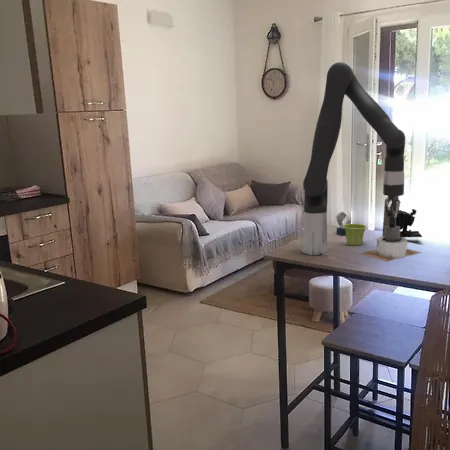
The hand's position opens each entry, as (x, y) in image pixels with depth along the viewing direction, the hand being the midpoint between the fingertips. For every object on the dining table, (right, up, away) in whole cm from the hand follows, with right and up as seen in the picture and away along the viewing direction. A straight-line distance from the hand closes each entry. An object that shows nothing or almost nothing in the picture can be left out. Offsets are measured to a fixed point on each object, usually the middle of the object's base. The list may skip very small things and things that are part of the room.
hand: (392, 226), depth 193 cm
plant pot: (-9, -8, +21) cm, 24 cm away
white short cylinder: (0, -11, +2) cm, 11 cm away
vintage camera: (+12, -7, +24) cm, 28 cm away
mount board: (+1, -11, +4) cm, 12 cm away
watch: (-9, -4, +41) cm, 43 cm away
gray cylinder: (0, -8, +2) cm, 8 cm away
